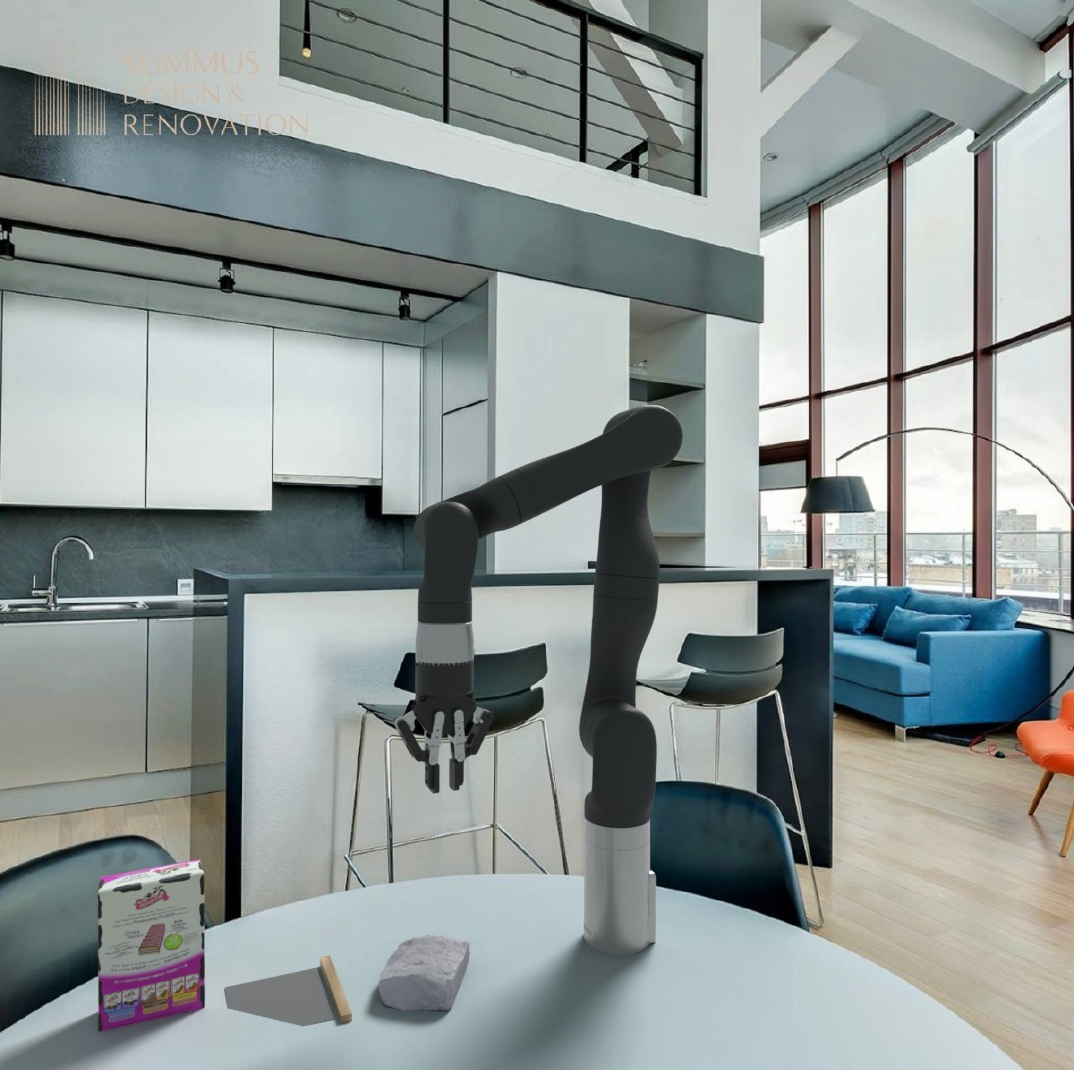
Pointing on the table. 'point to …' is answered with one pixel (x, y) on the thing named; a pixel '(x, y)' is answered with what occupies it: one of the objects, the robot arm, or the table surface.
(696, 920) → the table surface
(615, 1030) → the table surface
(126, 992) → the candy bar box
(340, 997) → the strip
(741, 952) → the table surface
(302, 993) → the mat
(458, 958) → the stone block
